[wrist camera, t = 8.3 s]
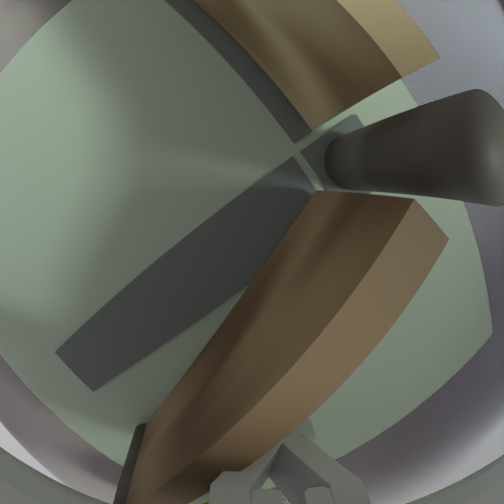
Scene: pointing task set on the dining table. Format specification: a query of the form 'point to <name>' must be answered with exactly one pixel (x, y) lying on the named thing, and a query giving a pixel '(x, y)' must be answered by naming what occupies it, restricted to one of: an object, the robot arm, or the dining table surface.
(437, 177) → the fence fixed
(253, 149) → the mat
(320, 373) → the fence panel
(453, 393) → the dining table surface
